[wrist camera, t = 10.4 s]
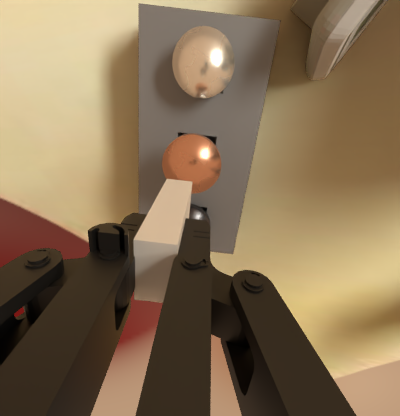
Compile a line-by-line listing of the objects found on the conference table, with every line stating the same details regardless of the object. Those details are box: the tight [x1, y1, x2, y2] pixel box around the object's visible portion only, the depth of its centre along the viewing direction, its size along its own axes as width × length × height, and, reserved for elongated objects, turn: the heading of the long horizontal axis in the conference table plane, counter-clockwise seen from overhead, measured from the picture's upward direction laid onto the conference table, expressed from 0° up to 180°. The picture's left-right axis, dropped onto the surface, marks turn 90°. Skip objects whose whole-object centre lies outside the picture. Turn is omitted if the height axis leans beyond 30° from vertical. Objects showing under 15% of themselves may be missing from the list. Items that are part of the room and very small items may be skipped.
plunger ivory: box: [172, 26, 235, 98], centre depth 22 cm, size 5×5×5 cm
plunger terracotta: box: [162, 133, 221, 194], centre depth 23 cm, size 5×5×5 cm
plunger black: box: [189, 204, 210, 225], centre depth 29 cm, size 5×5×5 cm
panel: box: [139, 4, 281, 254], centre depth 28 cm, size 24×12×5 cm, turn 174°
